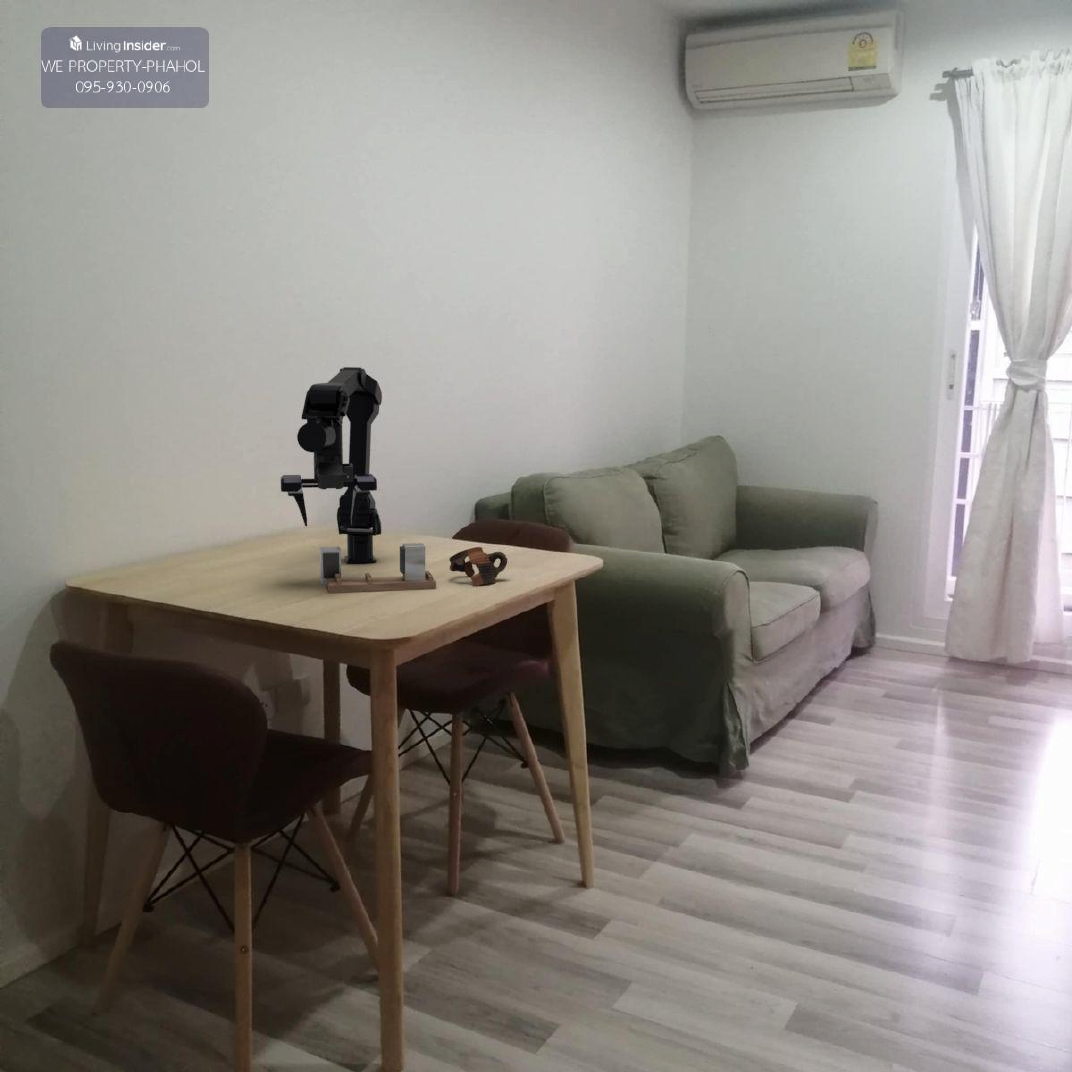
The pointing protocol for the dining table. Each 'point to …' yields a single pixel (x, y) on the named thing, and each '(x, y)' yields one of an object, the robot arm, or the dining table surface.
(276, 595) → the dining table surface
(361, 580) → the rail
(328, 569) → the block
